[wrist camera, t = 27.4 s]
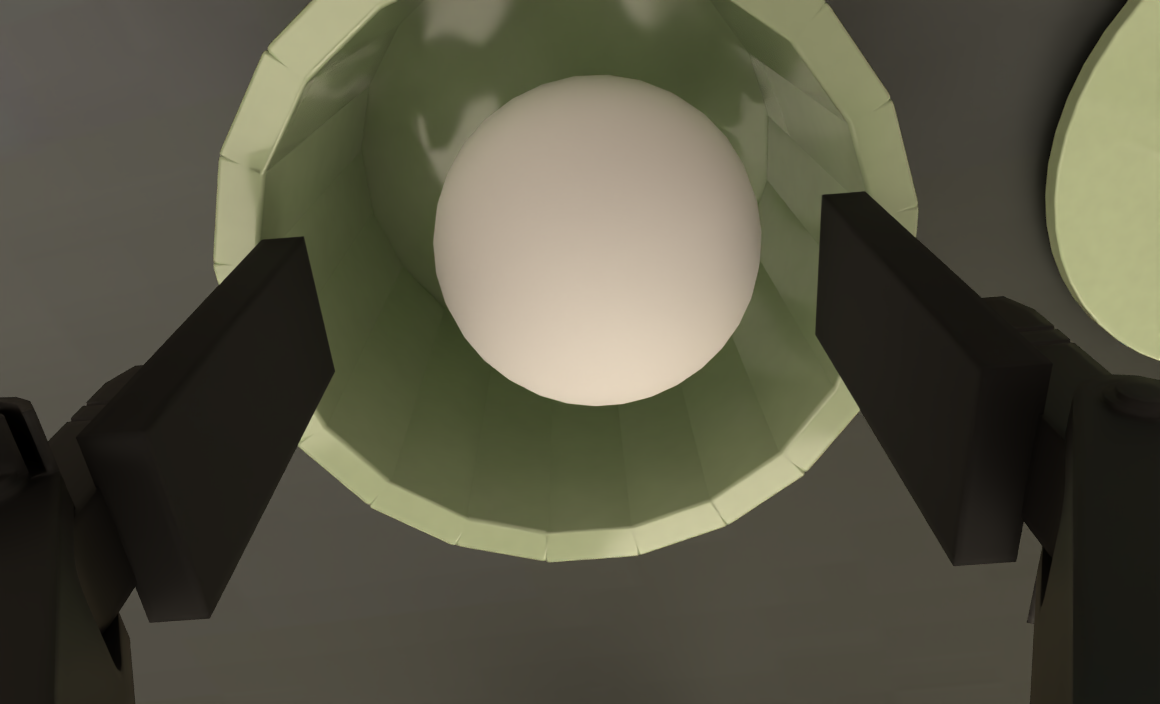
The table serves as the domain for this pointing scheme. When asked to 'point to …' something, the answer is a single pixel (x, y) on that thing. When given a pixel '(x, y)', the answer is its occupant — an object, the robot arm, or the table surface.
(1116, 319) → the canister lid
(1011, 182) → the table surface
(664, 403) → the canister
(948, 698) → the table surface
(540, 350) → the lightbulb
